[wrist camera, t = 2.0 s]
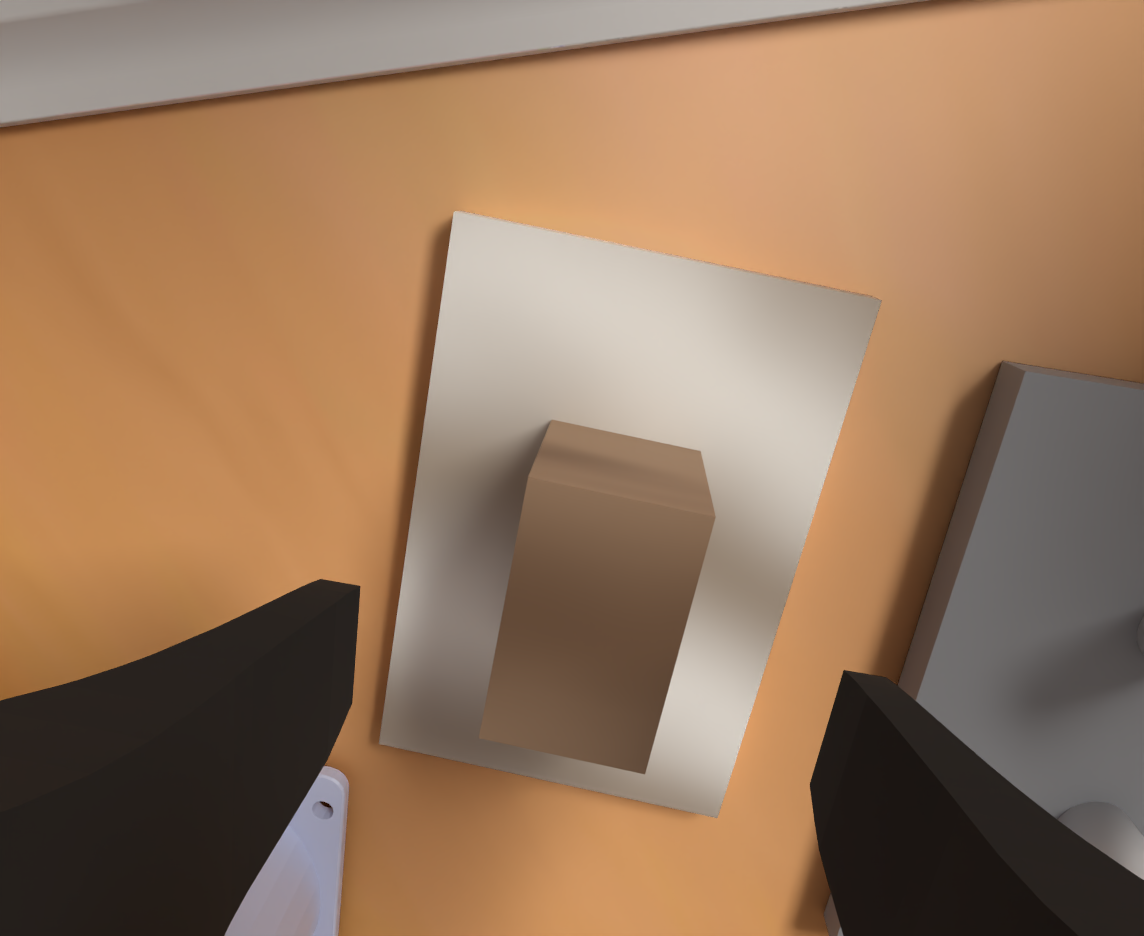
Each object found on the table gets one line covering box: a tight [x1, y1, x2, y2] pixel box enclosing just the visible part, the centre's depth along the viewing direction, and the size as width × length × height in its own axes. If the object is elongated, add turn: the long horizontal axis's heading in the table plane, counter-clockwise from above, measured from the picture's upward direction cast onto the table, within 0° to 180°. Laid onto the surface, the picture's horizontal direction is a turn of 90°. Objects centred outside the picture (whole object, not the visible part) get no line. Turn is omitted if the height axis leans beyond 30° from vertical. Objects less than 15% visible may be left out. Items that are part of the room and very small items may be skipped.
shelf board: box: [379, 211, 882, 818], centre depth 16 cm, size 12×8×5 cm, turn 169°
